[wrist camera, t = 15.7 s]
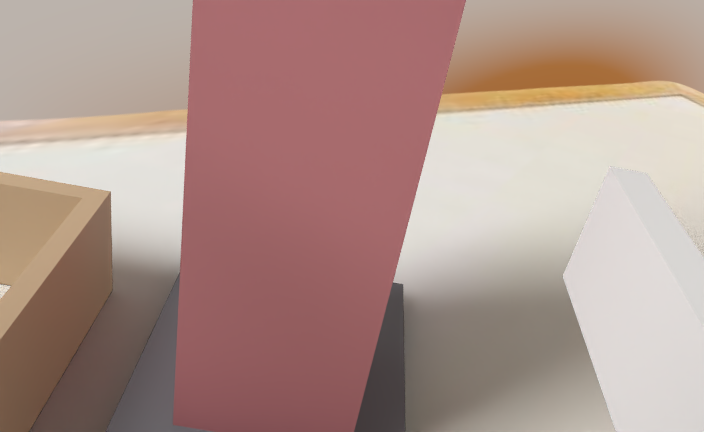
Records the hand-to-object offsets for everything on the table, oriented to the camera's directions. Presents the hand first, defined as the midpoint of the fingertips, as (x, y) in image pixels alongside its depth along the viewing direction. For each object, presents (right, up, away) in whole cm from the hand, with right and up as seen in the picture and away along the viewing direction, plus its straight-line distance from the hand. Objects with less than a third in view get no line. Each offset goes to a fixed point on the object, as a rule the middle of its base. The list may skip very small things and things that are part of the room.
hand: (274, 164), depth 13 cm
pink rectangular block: (-1, -7, +12) cm, 14 cm away
